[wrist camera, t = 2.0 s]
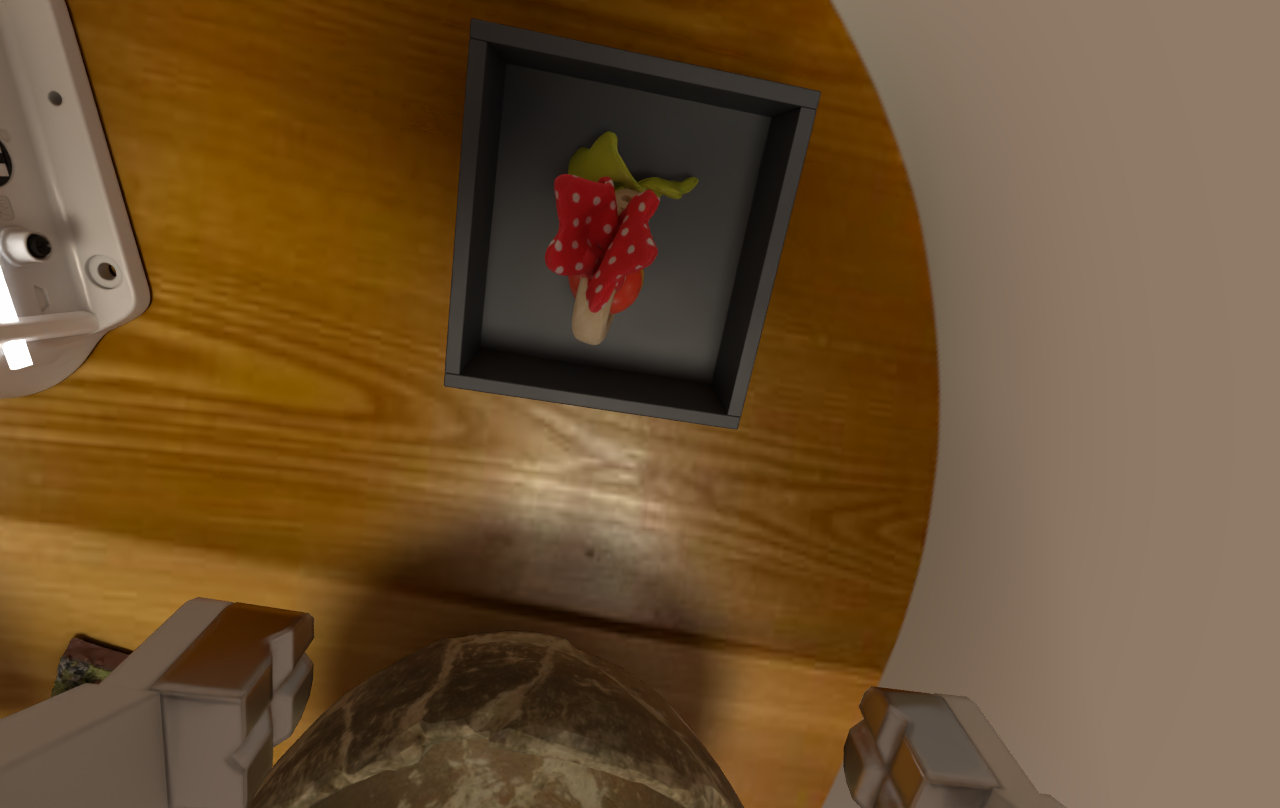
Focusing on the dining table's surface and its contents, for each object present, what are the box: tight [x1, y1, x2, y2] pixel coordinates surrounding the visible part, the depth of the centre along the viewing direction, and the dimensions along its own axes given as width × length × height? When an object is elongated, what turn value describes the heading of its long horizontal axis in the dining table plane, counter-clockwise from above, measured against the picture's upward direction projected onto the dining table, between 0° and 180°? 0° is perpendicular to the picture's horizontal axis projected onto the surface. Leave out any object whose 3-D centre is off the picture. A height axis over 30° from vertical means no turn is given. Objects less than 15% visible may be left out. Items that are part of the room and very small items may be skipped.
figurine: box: [51, 638, 129, 698], centre depth 35 cm, size 6×6×12 cm
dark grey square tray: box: [444, 18, 821, 429], centre depth 30 cm, size 15×14×5 cm
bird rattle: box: [545, 131, 699, 345], centre depth 28 cm, size 6×11×9 cm
